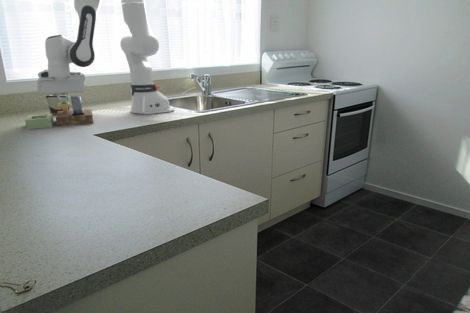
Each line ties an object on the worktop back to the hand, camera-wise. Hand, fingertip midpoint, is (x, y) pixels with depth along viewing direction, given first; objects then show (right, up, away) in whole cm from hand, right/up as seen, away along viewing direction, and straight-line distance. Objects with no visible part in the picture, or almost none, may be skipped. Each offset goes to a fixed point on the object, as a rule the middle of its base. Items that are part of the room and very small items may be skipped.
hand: (63, 103), depth 174 cm
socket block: (+5, -9, +1) cm, 10 cm away
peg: (+8, -9, -2) cm, 13 cm away
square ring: (-7, -11, -8) cm, 15 cm away
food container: (-10, -2, +20) cm, 22 cm away
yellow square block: (0, -5, +2) cm, 5 cm away
